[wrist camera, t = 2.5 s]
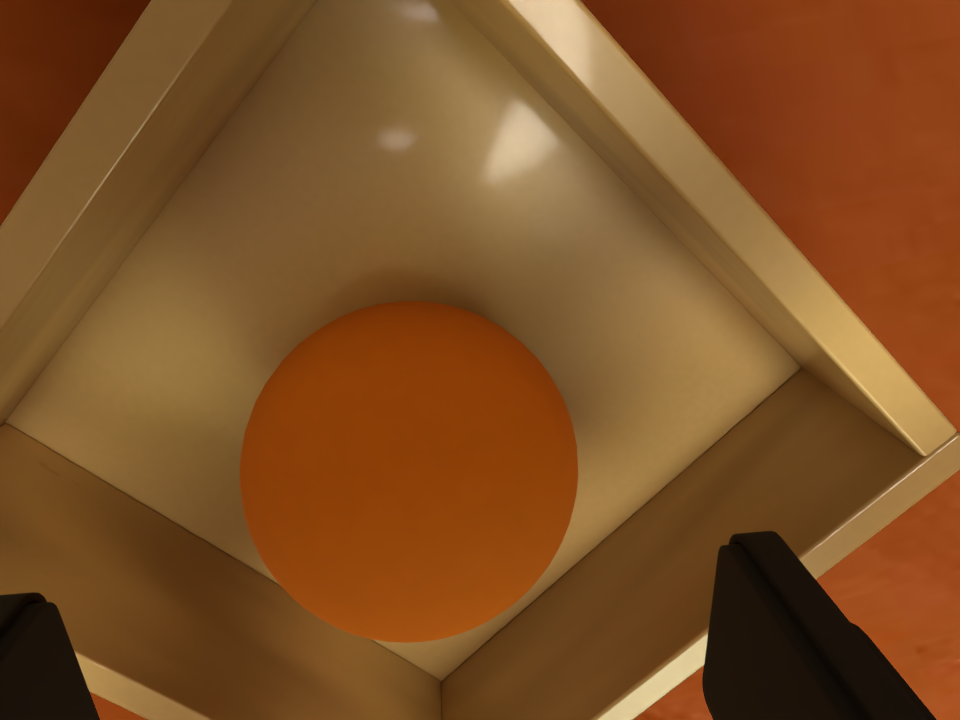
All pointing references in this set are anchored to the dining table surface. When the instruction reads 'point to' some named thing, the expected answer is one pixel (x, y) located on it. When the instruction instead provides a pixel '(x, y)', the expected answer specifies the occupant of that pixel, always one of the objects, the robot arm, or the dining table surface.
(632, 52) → the dining table surface
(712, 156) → the wooden tray
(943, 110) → the dining table surface
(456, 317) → the orange
